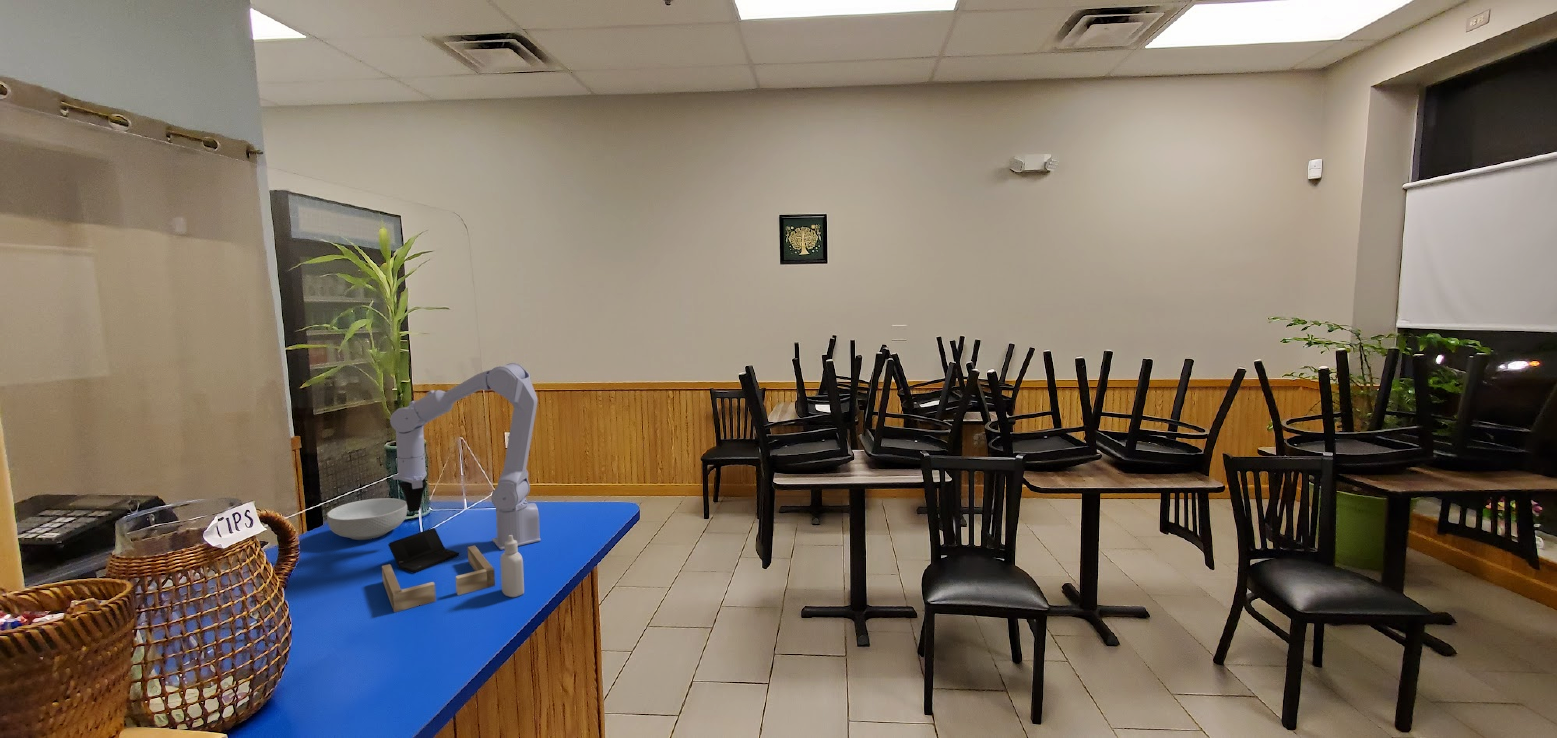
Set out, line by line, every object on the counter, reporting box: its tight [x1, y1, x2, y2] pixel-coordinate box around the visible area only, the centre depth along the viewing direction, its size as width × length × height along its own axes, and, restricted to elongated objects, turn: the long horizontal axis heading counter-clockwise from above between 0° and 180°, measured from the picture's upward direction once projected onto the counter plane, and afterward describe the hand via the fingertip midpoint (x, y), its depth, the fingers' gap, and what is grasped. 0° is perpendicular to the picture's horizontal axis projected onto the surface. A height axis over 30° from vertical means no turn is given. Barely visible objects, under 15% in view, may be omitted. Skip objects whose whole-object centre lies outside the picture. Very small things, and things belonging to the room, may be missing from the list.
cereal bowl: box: [326, 497, 408, 541], centre depth 155 cm, size 17×17×7 cm
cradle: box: [381, 544, 496, 613], centre depth 128 cm, size 18×16×4 cm
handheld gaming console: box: [388, 527, 460, 574], centre depth 139 cm, size 12×7×10 cm
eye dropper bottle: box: [500, 535, 525, 598], centre depth 124 cm, size 4×6×12 cm
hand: (414, 510), depth 148 cm, fingers closed
